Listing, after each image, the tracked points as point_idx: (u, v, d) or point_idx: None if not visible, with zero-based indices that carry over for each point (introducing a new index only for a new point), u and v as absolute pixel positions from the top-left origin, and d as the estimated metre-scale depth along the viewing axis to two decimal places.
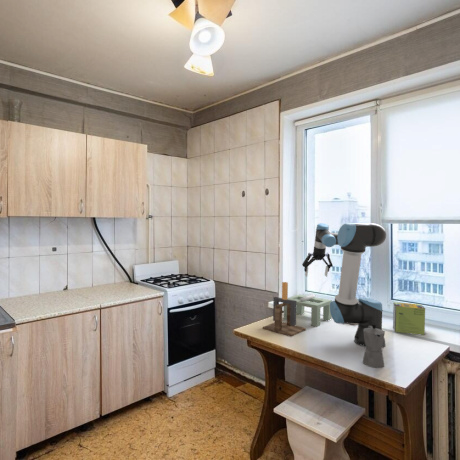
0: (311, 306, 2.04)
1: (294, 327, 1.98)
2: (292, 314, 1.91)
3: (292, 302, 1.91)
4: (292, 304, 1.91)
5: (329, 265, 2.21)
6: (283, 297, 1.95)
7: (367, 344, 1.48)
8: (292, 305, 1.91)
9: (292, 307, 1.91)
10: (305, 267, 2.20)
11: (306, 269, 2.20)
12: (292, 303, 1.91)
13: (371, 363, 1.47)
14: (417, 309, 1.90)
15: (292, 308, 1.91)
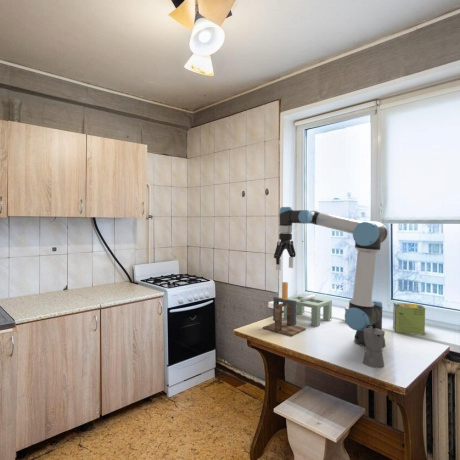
0: (311, 306, 2.04)
1: (294, 327, 1.98)
2: (292, 314, 1.91)
3: (292, 302, 1.91)
4: (292, 304, 1.91)
5: None
6: (283, 297, 1.95)
7: (367, 344, 1.48)
8: (292, 305, 1.91)
9: (292, 307, 1.91)
10: (278, 259, 1.89)
11: (279, 261, 1.90)
12: (292, 303, 1.91)
13: (371, 363, 1.47)
14: (417, 309, 1.90)
15: (292, 308, 1.91)
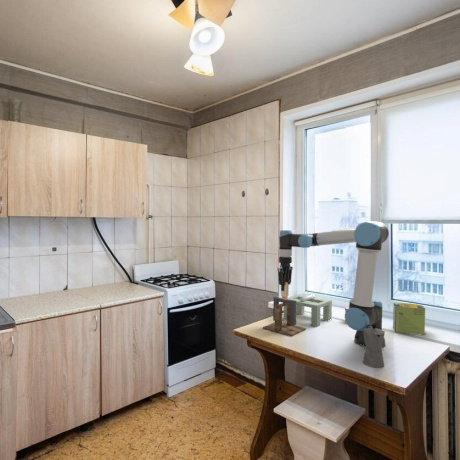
0: (311, 306, 2.04)
1: (294, 327, 1.98)
2: (292, 314, 1.91)
3: (292, 302, 1.91)
4: (292, 304, 1.91)
5: (288, 282, 1.98)
6: (283, 297, 1.95)
7: (367, 344, 1.48)
8: (292, 305, 1.91)
9: (292, 307, 1.91)
10: (283, 285, 1.93)
11: (284, 288, 1.94)
12: (292, 303, 1.91)
13: (371, 363, 1.47)
14: (417, 309, 1.90)
15: (292, 308, 1.91)
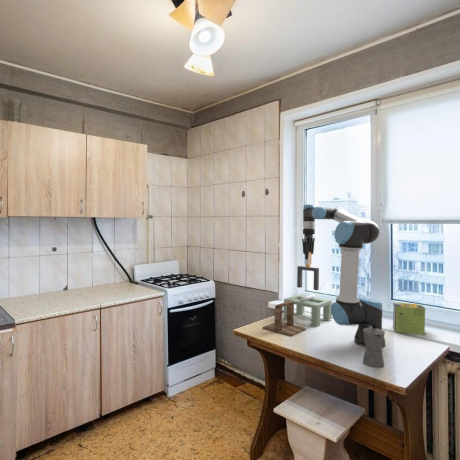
0: (311, 306, 2.04)
1: (294, 327, 1.98)
2: (315, 280, 2.12)
3: (315, 269, 2.11)
4: (315, 271, 2.11)
5: (311, 251, 2.18)
6: (307, 265, 2.15)
7: (367, 344, 1.48)
8: (315, 272, 2.11)
9: (315, 274, 2.11)
10: (307, 254, 2.13)
11: None
12: (315, 270, 2.11)
13: (371, 363, 1.47)
14: (417, 309, 1.90)
15: (315, 274, 2.12)
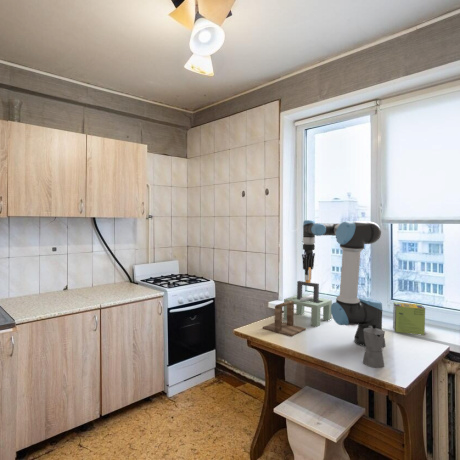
0: (311, 306, 2.04)
1: (294, 327, 1.98)
2: (315, 295, 2.12)
3: (315, 285, 2.12)
4: (315, 286, 2.12)
5: (311, 267, 2.18)
6: (306, 280, 2.16)
7: (367, 344, 1.48)
8: (315, 287, 2.12)
9: (315, 289, 2.12)
10: (307, 270, 2.14)
11: None
12: (315, 286, 2.12)
13: (371, 363, 1.47)
14: (417, 309, 1.90)
15: (315, 290, 2.12)
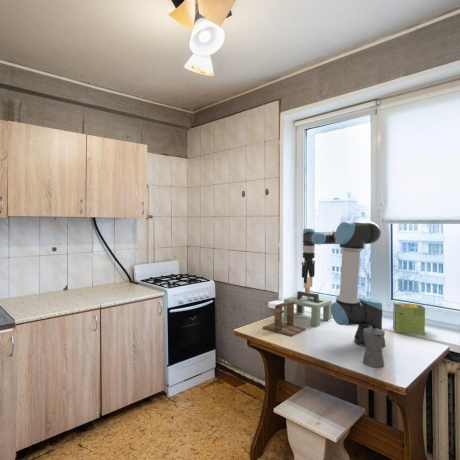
0: (311, 306, 2.04)
1: (294, 327, 1.98)
2: None
3: (315, 295, 2.12)
4: (315, 297, 2.12)
5: None
6: (306, 291, 2.16)
7: (367, 344, 1.48)
8: (315, 298, 2.12)
9: (315, 300, 2.12)
10: (305, 278, 2.13)
11: (306, 280, 2.14)
12: (315, 296, 2.12)
13: (371, 363, 1.47)
14: (417, 309, 1.90)
15: (315, 301, 2.12)
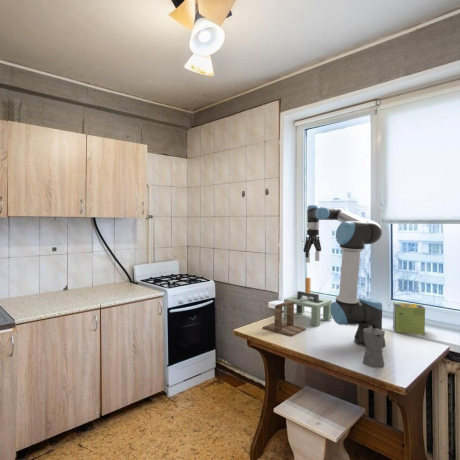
0: (311, 306, 2.04)
1: (294, 327, 1.98)
2: None
3: (315, 295, 2.12)
4: (315, 297, 2.12)
5: None
6: (306, 291, 2.16)
7: (367, 344, 1.48)
8: (315, 298, 2.12)
9: (315, 300, 2.12)
10: (307, 252, 2.08)
11: (308, 254, 2.09)
12: (315, 296, 2.12)
13: (371, 363, 1.47)
14: (417, 309, 1.90)
15: (315, 301, 2.12)
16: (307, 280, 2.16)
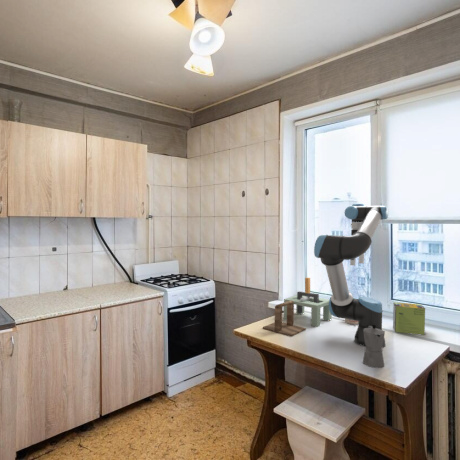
0: (311, 306, 2.04)
1: (294, 327, 1.98)
2: None
3: (315, 295, 2.12)
4: (315, 297, 2.12)
5: None
6: (306, 291, 2.16)
7: (367, 344, 1.48)
8: (315, 298, 2.12)
9: (315, 300, 2.12)
10: None
11: None
12: (315, 296, 2.12)
13: (371, 363, 1.47)
14: (417, 309, 1.90)
15: (315, 300, 2.12)
16: (307, 280, 2.16)
